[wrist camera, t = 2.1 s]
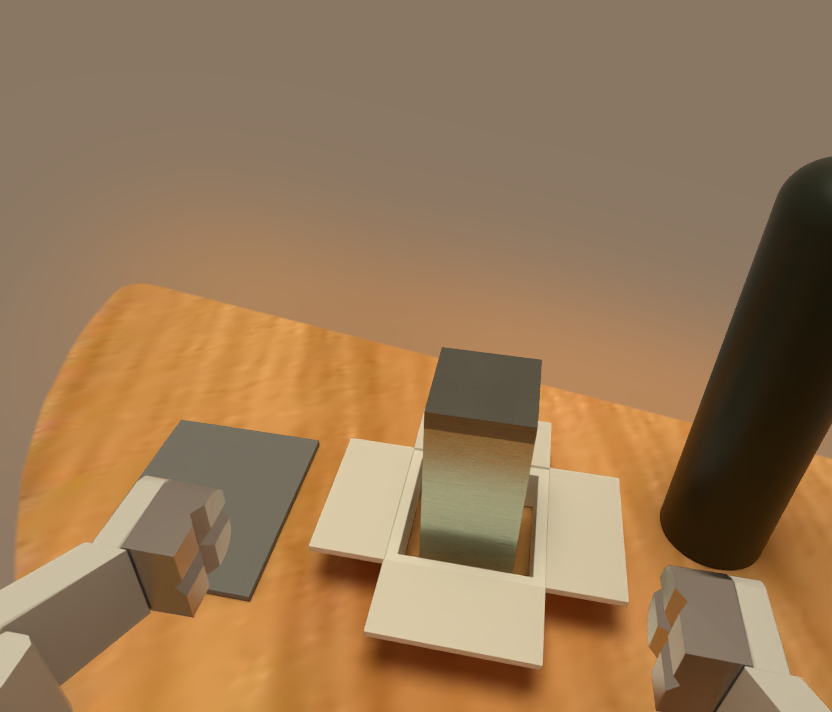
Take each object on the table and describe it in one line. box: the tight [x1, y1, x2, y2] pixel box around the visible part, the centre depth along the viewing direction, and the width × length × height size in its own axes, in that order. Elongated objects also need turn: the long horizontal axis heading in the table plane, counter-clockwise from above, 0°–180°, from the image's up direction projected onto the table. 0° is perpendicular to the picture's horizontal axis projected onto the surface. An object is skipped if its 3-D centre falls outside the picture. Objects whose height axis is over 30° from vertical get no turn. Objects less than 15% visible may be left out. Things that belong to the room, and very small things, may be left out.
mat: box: [108, 420, 319, 601], centre depth 40 cm, size 10×12×1 cm
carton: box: [309, 414, 629, 670], centre depth 36 cm, size 16×16×3 cm
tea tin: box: [420, 347, 542, 574], centre depth 34 cm, size 5×5×12 cm
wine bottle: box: [660, 157, 832, 569], centre depth 30 cm, size 6×6×30 cm
